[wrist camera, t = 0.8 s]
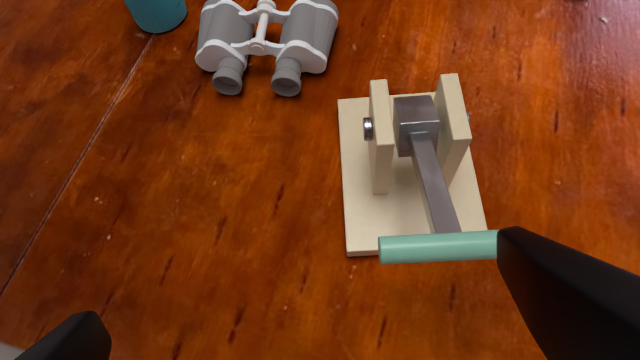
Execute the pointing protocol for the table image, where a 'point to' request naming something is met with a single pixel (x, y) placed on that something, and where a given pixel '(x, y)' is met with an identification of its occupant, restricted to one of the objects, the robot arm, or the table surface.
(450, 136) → the toaster bracket
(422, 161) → the lever
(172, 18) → the tube
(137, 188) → the table surface
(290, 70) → the binoculars
